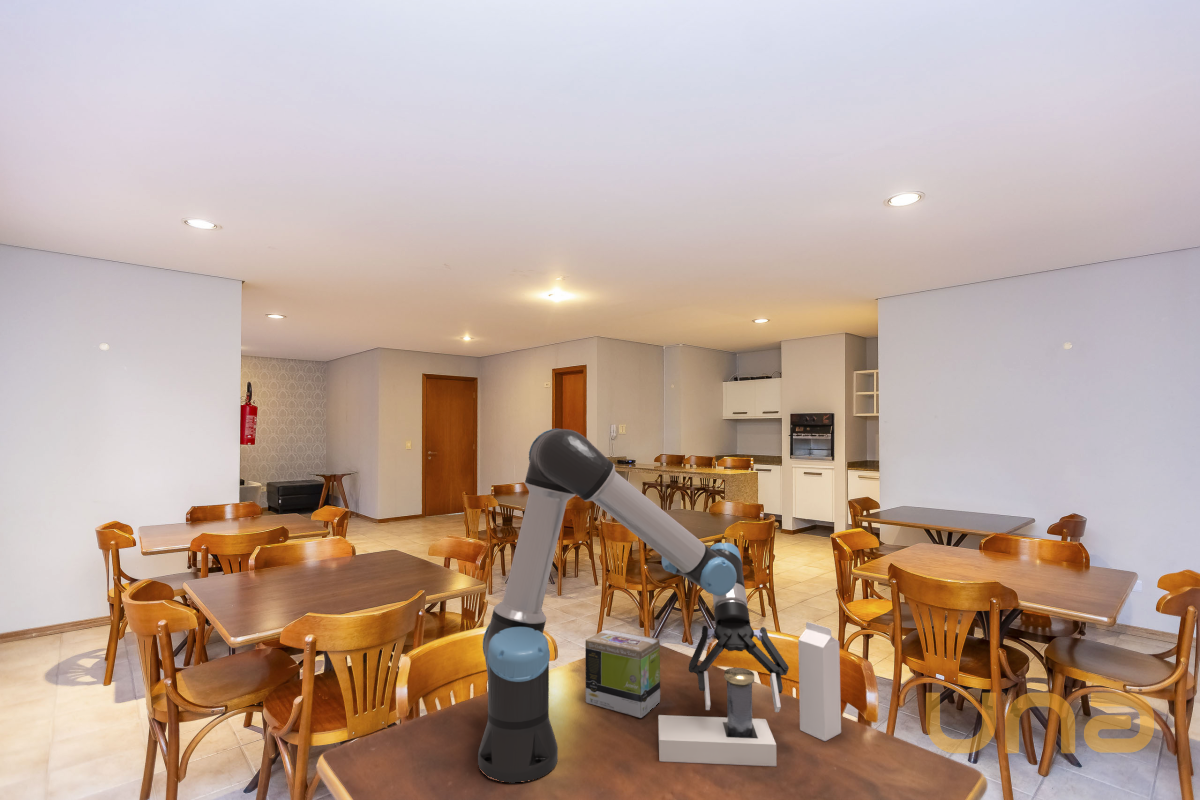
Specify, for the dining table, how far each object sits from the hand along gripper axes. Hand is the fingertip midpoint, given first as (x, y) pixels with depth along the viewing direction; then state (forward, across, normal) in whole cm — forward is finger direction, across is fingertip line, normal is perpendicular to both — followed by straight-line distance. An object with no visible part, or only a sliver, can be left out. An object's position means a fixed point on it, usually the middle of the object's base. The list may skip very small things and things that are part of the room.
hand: (742, 708), depth 118 cm
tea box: (-8, +24, -20) cm, 32 cm away
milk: (0, -18, -13) cm, 22 cm away
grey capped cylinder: (+6, +1, -6) cm, 8 cm away
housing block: (+6, +6, -6) cm, 10 cm away
